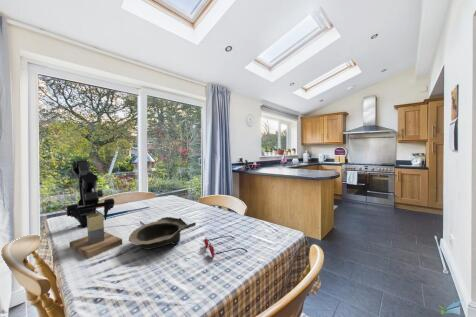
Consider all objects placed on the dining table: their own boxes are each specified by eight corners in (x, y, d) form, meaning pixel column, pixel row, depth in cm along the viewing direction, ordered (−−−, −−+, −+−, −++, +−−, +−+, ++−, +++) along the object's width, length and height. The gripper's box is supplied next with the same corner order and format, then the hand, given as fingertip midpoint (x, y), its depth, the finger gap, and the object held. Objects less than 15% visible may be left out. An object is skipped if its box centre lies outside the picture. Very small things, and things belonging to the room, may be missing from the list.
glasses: (202, 246, 95) (202, 235, 95) (235, 239, 102) (235, 229, 101) (211, 261, 82) (211, 249, 82) (248, 252, 89) (248, 241, 89)
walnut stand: (69, 247, 94) (69, 241, 94) (102, 235, 106) (102, 230, 105) (88, 258, 84) (88, 252, 84) (122, 244, 96) (122, 239, 96)
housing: (88, 240, 95) (86, 214, 94) (102, 236, 99) (100, 212, 98) (89, 244, 91) (88, 218, 90) (104, 240, 95) (103, 215, 94)
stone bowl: (195, 235, 105) (194, 218, 104) (163, 266, 81) (161, 244, 80) (156, 228, 113) (154, 212, 112) (116, 254, 90) (113, 235, 88)
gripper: (65, 188, 93) (68, 218, 86) (112, 182, 106) (119, 208, 98) (65, 201, 99) (68, 230, 92) (110, 195, 112) (115, 220, 105)
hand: (94, 222), depth 97 cm, fingers open, 9 cm apart
